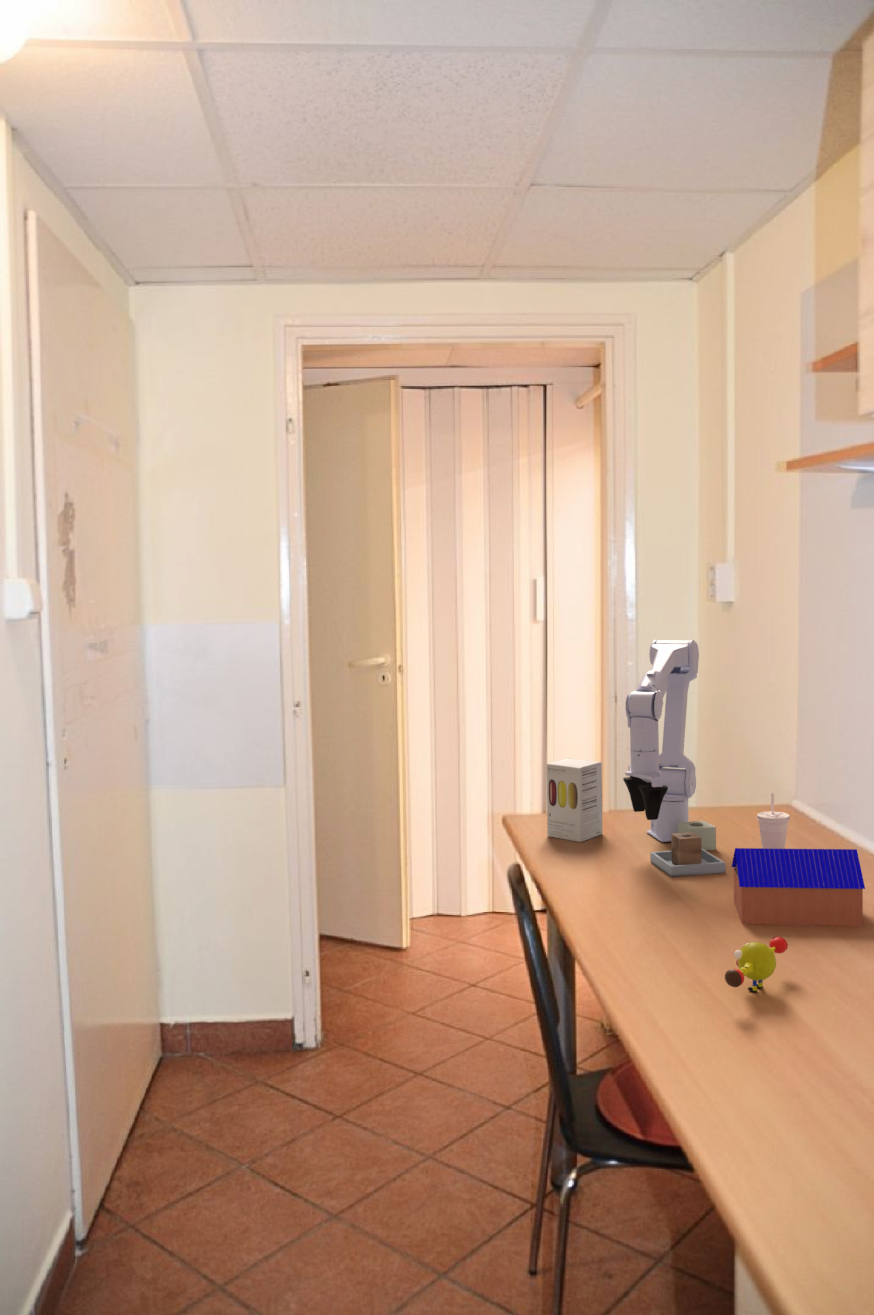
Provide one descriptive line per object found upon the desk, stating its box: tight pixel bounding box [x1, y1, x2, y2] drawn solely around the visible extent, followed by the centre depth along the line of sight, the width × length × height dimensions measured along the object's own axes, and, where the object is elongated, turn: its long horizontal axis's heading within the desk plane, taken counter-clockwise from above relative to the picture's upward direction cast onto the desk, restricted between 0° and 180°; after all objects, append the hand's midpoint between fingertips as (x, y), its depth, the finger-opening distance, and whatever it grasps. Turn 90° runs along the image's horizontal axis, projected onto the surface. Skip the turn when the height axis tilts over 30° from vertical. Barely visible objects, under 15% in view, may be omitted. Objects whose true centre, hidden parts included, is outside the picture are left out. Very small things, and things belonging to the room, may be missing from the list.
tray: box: [649, 849, 726, 878], centre depth 213 cm, size 11×11×2 cm
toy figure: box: [724, 936, 789, 993], centre depth 151 cm, size 18×6×7 cm, turn 141°
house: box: [731, 847, 866, 927], centre depth 182 cm, size 12×20×12 cm, turn 81°
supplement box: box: [546, 757, 603, 843], centre depth 241 cm, size 10×9×17 cm
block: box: [670, 832, 702, 866], centre depth 213 cm, size 4×4×6 cm
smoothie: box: [756, 792, 791, 849], centre depth 215 cm, size 6×6×14 cm
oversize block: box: [678, 820, 717, 851], centre depth 228 cm, size 6×6×5 cm
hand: (645, 815), depth 219 cm, fingers open, 7 cm apart
